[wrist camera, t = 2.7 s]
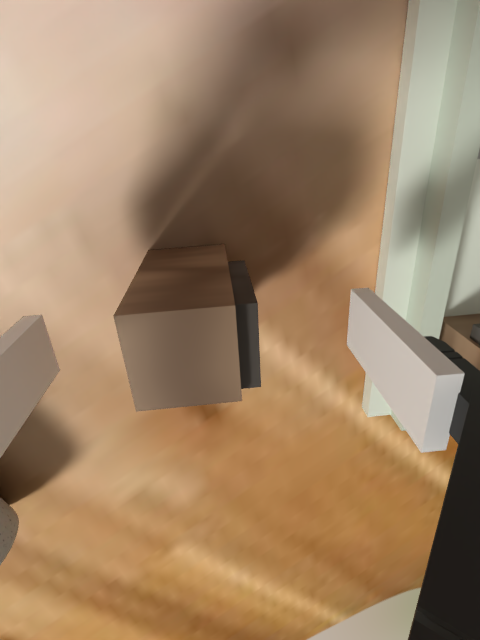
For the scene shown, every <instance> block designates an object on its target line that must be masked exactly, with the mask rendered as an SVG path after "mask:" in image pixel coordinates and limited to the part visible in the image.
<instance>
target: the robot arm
mask: <svg viewBox="0 0 480 640" xmlns="http://www.w3.org/2000/svg"><path fill="white" fill-rule="evenodd" d="M347 346H348V347H349V349H350V350H351V352H352V353H353V354H354V356H355V357H356V359H357V360H358V362H359V363H360V365H361V366H362V367H363V369H364V370H365V372H366V373H367V375H368V376H369V378H370V379H371V381H372V382H373V383H374V385H375V386H376V388H377V389H378V391H379V392H380V394H381V395H382V396H383V398H384V399H385V401H386V402H387V404H388V405H389V407H390V408H391V409H392V411H393V412H394V414H395V415H396V417H397V418H398V420H399V421H400V423H401V424H402V425H403V427H404V428H405V430H406V431H407V433H408V434H409V436H410V437H411V438H412V440H413V441H414V443H415V444H416V446H417V447H418V449H419V450H420V452H431V451H440V450H446V448H447V444H448V440H449V436H450V435H451V436H452V437H453V438H454V439H455V441H456V442H457V443H458V448H457V452H456V456H455V459H454V463H453V467H452V471H451V475H450V479H449V483H448V487H447V490H446V494H445V498H444V502H443V506H442V510H441V514H440V517H439V521H438V525H437V529H436V533H435V537H434V541H433V545H432V548H431V552H430V556H429V560H428V564H427V568H426V572H425V576H424V579H423V583H422V587H421V591H420V595H419V599H418V603H417V607H416V610H415V614H414V618H413V622H412V626H411V630H410V634H409V638H408V640H480V371H479V370H478V369H477V368H476V367H475V366H473V365H472V364H471V363H470V362H468V361H467V360H466V359H465V358H463V357H462V356H461V355H460V354H459V353H458V352H455V350H454V349H453V348H452V347H450V346H449V345H448V344H447V343H446V342H444V341H441V340H439V339H437V338H435V337H433V336H425V337H423V336H422V335H421V334H420V333H419V332H418V331H417V330H416V329H414V328H413V327H412V326H411V325H410V324H409V323H408V322H407V321H405V320H404V319H403V318H402V317H401V316H400V315H399V314H398V313H396V312H395V311H394V310H393V309H392V308H391V307H390V306H389V305H387V304H386V303H385V302H384V301H383V300H382V299H381V298H380V297H378V296H377V295H376V294H375V293H374V292H373V291H372V290H371V289H369V288H359V289H351V297H350V310H349V323H348V336H347ZM59 371H60V369H59V366H58V363H57V359H56V356H55V353H54V350H53V347H52V344H51V341H50V338H49V335H48V332H47V329H46V325H45V322H44V319H43V316H42V315H33V316H23V317H22V318H21V319H20V320H19V321H18V322H16V323H15V324H14V325H13V326H12V327H11V328H10V329H9V330H8V331H6V332H5V333H4V334H3V335H2V336H1V337H0V458H1V456H2V455H3V454H4V452H5V451H6V449H7V448H8V446H9V445H10V443H11V442H12V440H13V439H14V437H15V436H16V434H17V433H18V431H19V430H20V428H21V427H22V426H23V424H24V423H25V421H26V420H27V418H28V417H29V415H30V414H31V412H32V411H33V409H34V408H35V406H36V405H37V403H38V402H39V400H40V399H41V398H42V396H43V395H44V393H45V392H46V390H47V389H48V387H49V386H50V384H51V383H52V381H53V380H54V378H55V377H56V375H57V374H58V372H59Z"/></svg>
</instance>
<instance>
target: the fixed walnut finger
mask: <svg viewBox="0 0 480 640" xmlns="http://www.w3.org/2000/svg"><path fill="white" fill-rule="evenodd" d="M439 340H441V341H444V342H446V343H447V344H448V345H449V346H450V347H452V348H453V349H454V350H455V352H458V353H459V354H460V355H461V356H462V357H463V358H465V359H466V360H467V361H468V362H470V363H471V364H472V365H473V366H475V367H476V368H477V369H478V370H479V371H480V314H469V315H458V316H447V317H444V318H443V323H442V327H441V332H440V337H439Z"/></svg>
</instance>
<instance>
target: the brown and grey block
mask: <svg viewBox="0 0 480 640" xmlns="http://www.w3.org/2000/svg"><path fill="white" fill-rule="evenodd" d="M114 320H115V324H116V329H117V333H118V337H119V341H120V345H121V350H122V354H123V358H124V362H125V367H126V371H127V375H128V379H129V383H130V388H131V392H132V396H133V400H134V404H135V409H136V411H146V410H156V409H166V408H176V407H187V406H197V405H207V404H217V403H227V402H237V401H242V394H241V389H243V388H254V387H261V377H260V352H259V328H258V303H257V300H256V296H255V293H254V290H253V287H252V284H251V280H250V277H249V274H248V271H247V267H246V264H245V261H232V262H228V260H227V254H226V249H225V244H219V245H207V246H194V247H181V248H169V249H156V250H148V252H147V254H146V256H145V258H144V260H143V261H142V263H141V265H140V267H139V269H138V271H137V273H136V275H135V277H134V278H133V280H132V282H131V284H130V286H129V288H128V290H127V292H126V293H125V295H124V297H123V299H122V301H121V303H120V305H119V307H118V308H117V310H116V312H115V314H114Z"/></svg>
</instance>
